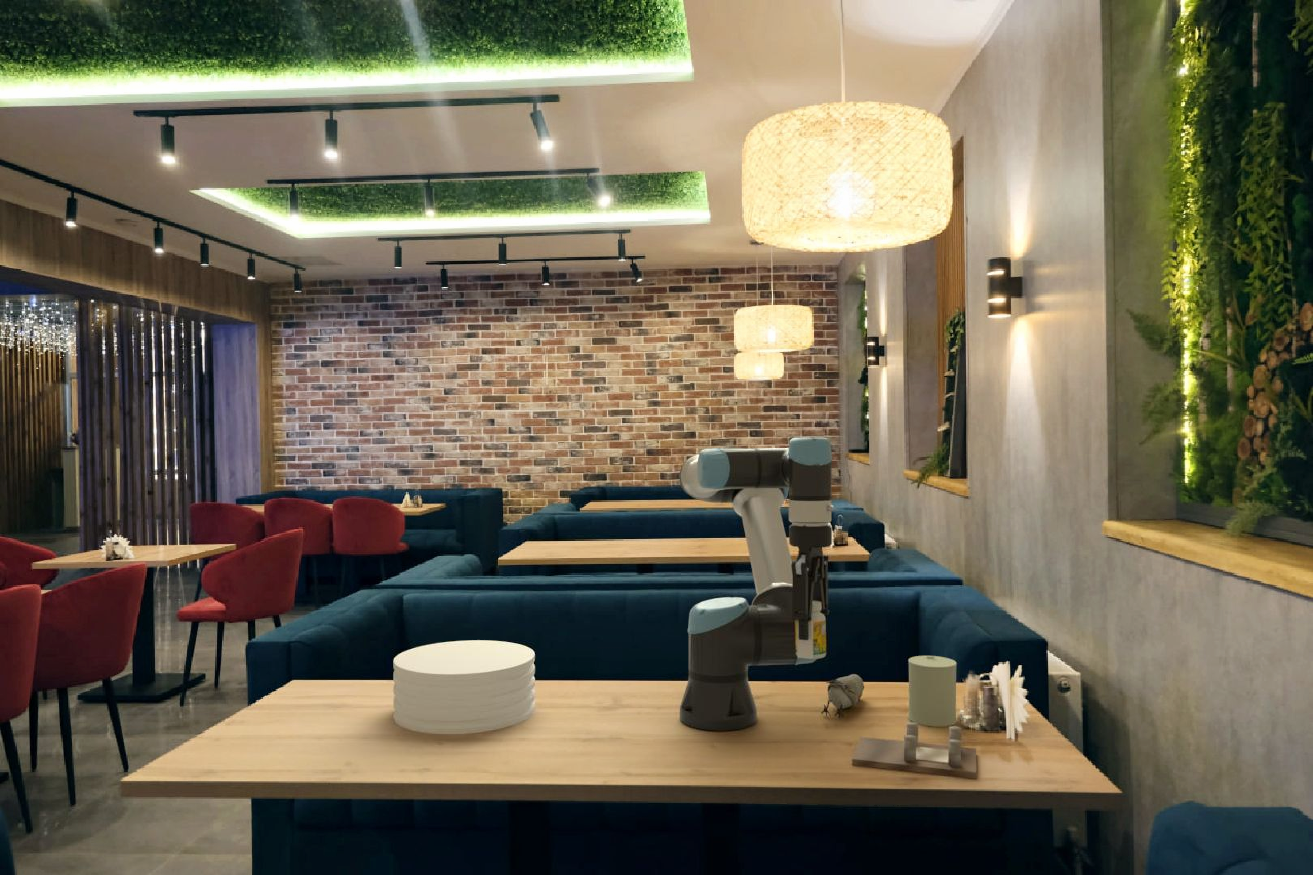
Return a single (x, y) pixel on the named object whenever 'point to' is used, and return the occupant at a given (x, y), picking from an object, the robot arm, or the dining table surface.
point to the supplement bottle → (817, 631)
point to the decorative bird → (844, 692)
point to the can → (932, 691)
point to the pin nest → (918, 754)
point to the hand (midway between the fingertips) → (810, 654)
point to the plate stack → (463, 686)
